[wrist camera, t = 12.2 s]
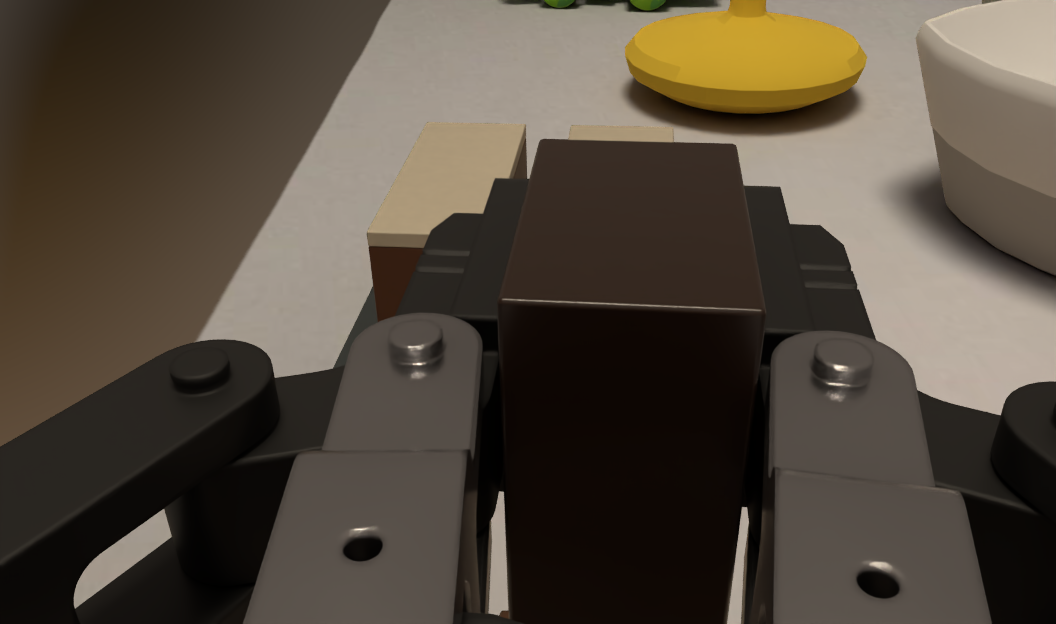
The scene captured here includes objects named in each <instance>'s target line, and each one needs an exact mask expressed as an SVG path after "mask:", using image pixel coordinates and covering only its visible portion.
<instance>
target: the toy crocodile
mask: <svg viewBox="0 0 1056 624" xmlns="http://www.w3.org/2000/svg"><path fill="white" fill-rule="evenodd" d="M544 1H545V2H546V3H547V4H549V5H550V6H553V7H556V8H562V7H567V6H569V5H570V4H572V3H573V2H574V1H575V0H544ZM665 1H666V0H630V2H631V3H632V4H633V5H634V6H635V7H637V8H639V9H642V10H653V9H656V8H658V7H660V6H661V5H662V4H663V3H664V2H665Z"/></svg>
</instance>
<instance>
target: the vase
mask: <svg viewBox="0 0 1056 624" xmlns="http://www.w3.org/2000/svg"><path fill="white" fill-rule="evenodd" d="M625 57H626V60H627V63H628V67H629V70H630V73H631V74H632V75H633V76H634V77H635V78H636V80H637V81H638V82H640V83H642V84H644V85H645V86H647V87H649V88H651V89H653V90H655V91H657V92H659V93H661V94H663V95H665V96H667V97H669V98H671V99H673V100H675V101H677V102H680V103H683V104H686V105H689V106H692V107H696V108H701V109H706V110H712V111H719V112H729V113H759V114H761V113H772V112H783V111H788V110H793V109H797V108H802V107H805V106H807V105H810V104H813V103H816V102H819V101H822V100H825V99H828V98H830V97H833V96H835V95H838V94H840V93H843V92H846V91H847V90H848V89H849V88H851V87H852V86H853V85H854V84H855V83H857V81H858V79H859V77H860V75H861V73H862V71H863V69H864V67H865V64H866V59H867V56H866V54H865V53H864V51H863V50H862V48H861V47H860V45H859V44H858V42H857V41H856V39H855V38H854V36H852V35H850V34H849V33H847V32H846V31H844V30H842V29H841V28H838V27H835V26H832V25H829V24H827V23H824V22H820V21H816V20H812V19H807V18H803V17H798V16H791V15H784V14H777V13H770V12H766V0H730V7H729V9H728V11H718V12H705V13H694V14H688V15H681V16H675V17H671V18H667V19H663V20H660V21H656V22H654V23H651V24H649V25H647V26H645V27H643V28H641V29H640V31H639V32H638V33H637V34H636V35H635V36H634V37H633V38H632V40H631V41H630V42H629V43H628V44H627V46H626V47H625Z"/></svg>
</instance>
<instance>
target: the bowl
mask: <svg viewBox="0 0 1056 624" xmlns="http://www.w3.org/2000/svg"><path fill="white" fill-rule="evenodd" d="M916 43H917V49H918V54H919V60H920V65H921V71H922V77H923V82H924V88H925V94H926V99H927V105H928V111H929V116H930V122H931V126H932V128H933V134H934V140H935V145H936V151H937V157H938V162H939V168H940V174H941V179H942V185H943V191H944V196H945V202H946V205H947V206H948V208H949V209H950V210H951V211H952V212H953V213H954V214H955V215H956V216H957V217H958V218H959V219H960V221H961V222H963V223H964V224H965V225H967V226H968V227H969V228H971V229H972V230H973V231H975V232H976V233H977V234H979V235H980V236H981V237H983V238H984V239H985V240H987V241H988V242H989V243H990V244H992V245H993V246H994V247H996V248H997V249H999V250H1001V251H1003V252H1005V253H1007V254H1009V255H1011V256H1013V257H1015V258H1018V259H1020V260H1022V261H1024V262H1026V263H1028V264H1030V265H1032V266H1034V267H1036V268H1038V269H1040V270H1042V271H1044V272H1047V273H1050V274H1052V275H1055V276H1056V0H1001V1H996V2H991V3H986V4H981V5H976V6H970V7H965V8H961V9H958V10H955V11H952V12H950V13H947V14H944V15H941V16H938V17H935V18H933V19H930V20H927V21H925V23H924V24H923V25H922V27H921V28H920V30H919V32H918V34H917V37H916Z"/></svg>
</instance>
